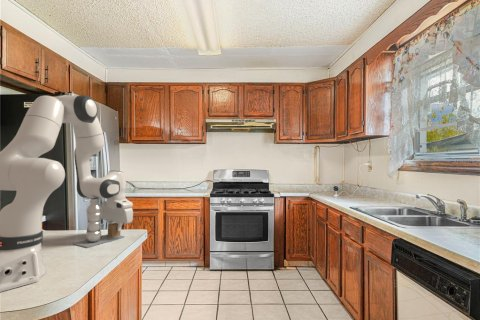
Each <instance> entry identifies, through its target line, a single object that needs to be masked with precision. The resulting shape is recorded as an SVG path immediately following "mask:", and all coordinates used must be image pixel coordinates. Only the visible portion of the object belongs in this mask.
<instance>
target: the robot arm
mask: <svg viewBox="0 0 480 320" xmlns="http://www.w3.org/2000/svg"><path fill="white" fill-rule="evenodd" d="M98 113H99V112H98V106H97V103H96V101H95V100H94V98H92V97H91V96H89V95H85V94H84V95H83V94H80V95H72V94H71V95H67V94H65V95H57V96H51V95H40V96H38V97H37V98H36V99H35V100H34V101H33V102H32V104H31V105H30V106H29V108H28V109H27V111H26V113H25V114H24V115H25V116H24V117H23V119H22V122H21V124H20V127H19V128H18V130H17V133H16V135H15V136H14V137H13V138H12V140H11V141H10V142H9V143H8V144H7V145H6V146H5V147H4V148H3V149H2V150H1V151H0V191H16V193H15V197H14V199H13V200H12V202H11V203H9V204H7V205H5V206H3V207H2V208H1V209H0V293H1V292H2V293H3V292H6V291H8V290H12V289H15V288H19V287H22V286H26V285H30V284H34V283H37V282H39V281H40V279H41V278H42V277H43V276H44V275H45V274H46V273H47V270H46V266H45V263H44V257H43V249H42V246H43V241H44V231H43V230H42V225H43V222H42V221H43V213H44V207H45V204H46V202H47V200H48V198H49V197H50V195H51V194H52V193H53V192H55V190H57V189H58V188H60V187H61V185H62V184H63V183H64V181H65V179H66V172H65V168H64V166H63V164H62V163H61V162H60V161H57V160H54V159H50V158H46V157H41V156H42V155H44V154H46V153H48V152H49V151H52V150H53V148H54V146H55V145H56V142H57V139H58V136H59V133H60V130H61V127H62V125H63V124H72V127H73V133H74V137H75V143H76V144H75V145H76V146H75V149H74V153H73V156H74V164H75V165H74V166H75V172H76V192H77V194H78V195H79V197H81V198H84V199H91V198H99V199H102V200H103V199H106V200H105V201H103V202H101V205H100V206H101V208H102V213H101V219H100V220H103V221H107V223H108V224H113V223H118V224H119V225H118V227H116V231H120V232H121V231H122V226H123V225H124V224H125V225H127V224H131V223H132V222H133V220H134V210H133V208H132V207H133V206H134V204H133V201H132V202H131V201H130V200H129V199H127V198H126V189H127V187H126V186H127V179H126V173H124V172H123V171H120V170H109V171H108V173H107V174H106V175H104V176H101V177H94V176H93V175H92V173H91V164H90V163H91V162H90V159H91V157H92V156H95V155H96V154H99V152H100V151H102V149H103V148H104V146H105V136H104V134H103V133H104V131H103V129H102V125H101V123H100V121H99V120H100V119H99V117H98Z"/></svg>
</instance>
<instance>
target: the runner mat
mask: <svg viewBox="0 0 480 320" xmlns="http://www.w3.org/2000/svg"><path fill="white" fill-rule="evenodd" d="M118 225H119V224H118V222H113V224H109V223H108V225H107V234H105V235H101V239H100V240H99V241H95V242H88V241H87V240H86V239H85V240H80V241H77V242H74V243H72V245H73V246H77V247H81V248H85V249H89V248H92V247H95V246H99V245H103V244H107V243H109V242H113V241H118V240H121V239H124V238H125V236H124V235H121V231H116V227H118Z"/></svg>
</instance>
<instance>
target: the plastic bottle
mask: <svg viewBox="0 0 480 320" xmlns="http://www.w3.org/2000/svg"><path fill="white" fill-rule="evenodd" d="M89 199H90V201H89V205H88V206H87V208H86V218H87V222H86V223H87V227H86V232H85V240H87V241H88V242H95V241H99V240H100V239H101V236H102V231H101V229H102V228H101V220H102V219H101V213H102V208H101V205H100V204H99V203H100V198H89Z"/></svg>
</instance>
